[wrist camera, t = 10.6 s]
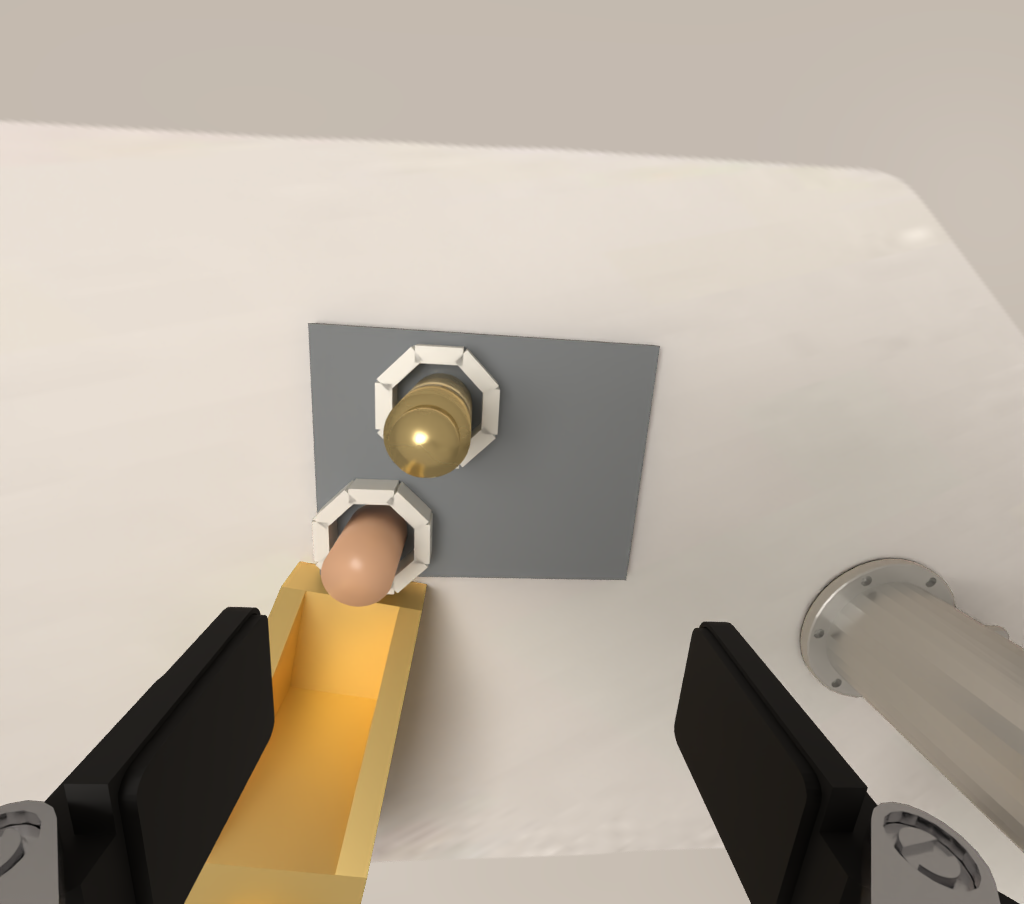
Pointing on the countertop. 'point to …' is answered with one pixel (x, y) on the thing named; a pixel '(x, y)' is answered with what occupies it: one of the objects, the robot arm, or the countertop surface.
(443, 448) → the gold rounded cylinder
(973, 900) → the robot arm
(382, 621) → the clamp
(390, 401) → the white octagonal ring
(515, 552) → the mat
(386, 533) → the joined fitting
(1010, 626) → the countertop surface
